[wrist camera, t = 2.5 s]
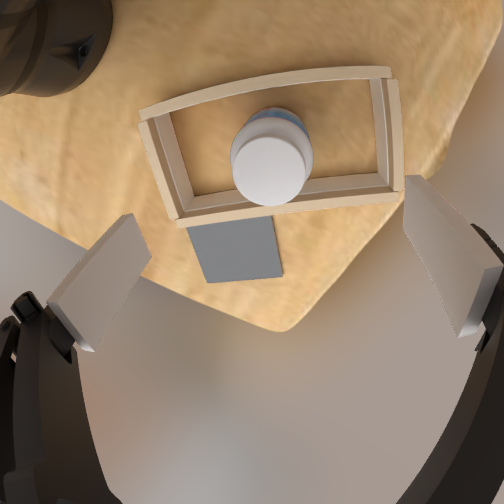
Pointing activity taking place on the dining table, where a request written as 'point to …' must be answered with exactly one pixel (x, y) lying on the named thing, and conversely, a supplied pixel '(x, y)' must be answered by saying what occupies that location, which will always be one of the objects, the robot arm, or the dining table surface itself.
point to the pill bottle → (271, 157)
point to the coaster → (237, 249)
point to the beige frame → (314, 190)
